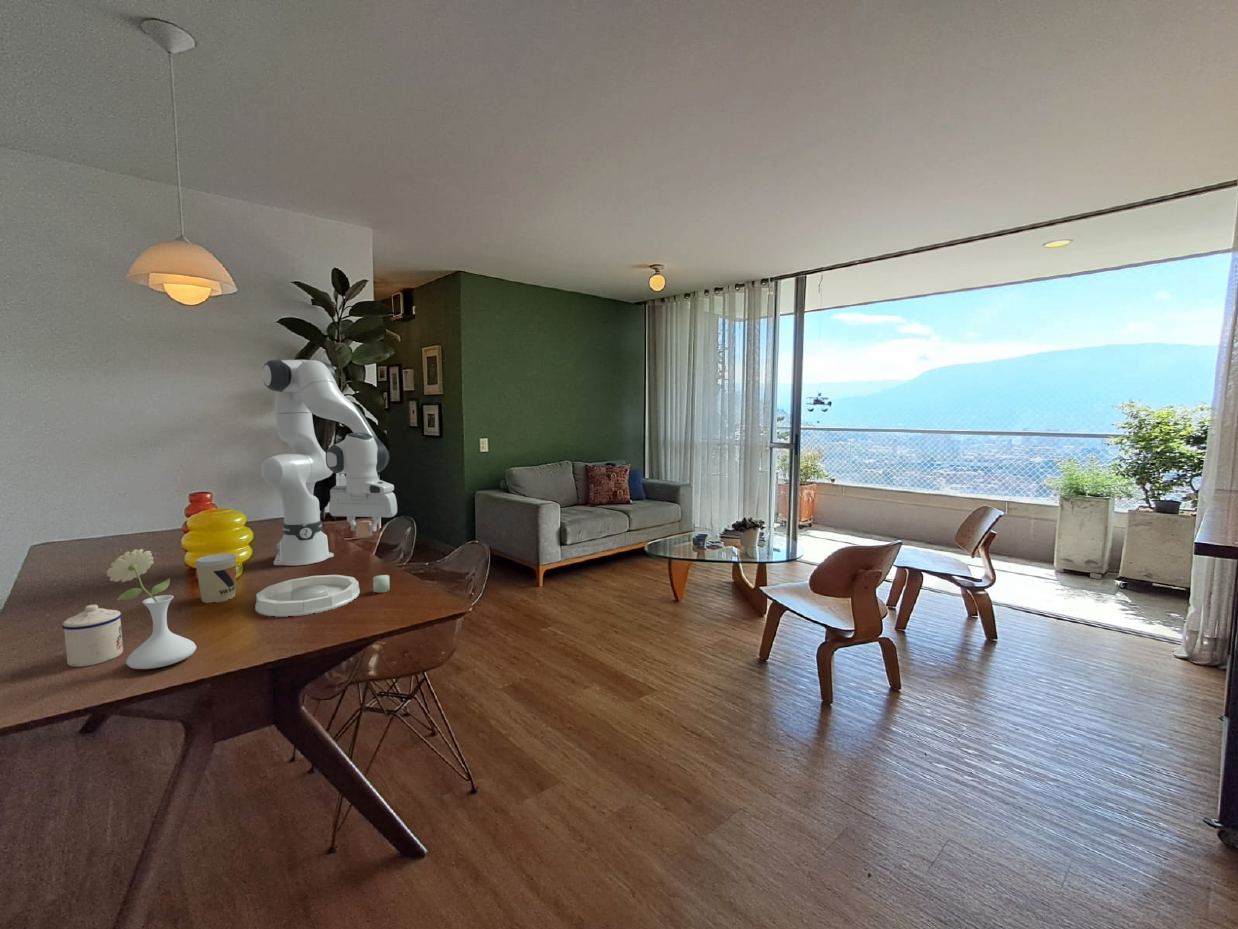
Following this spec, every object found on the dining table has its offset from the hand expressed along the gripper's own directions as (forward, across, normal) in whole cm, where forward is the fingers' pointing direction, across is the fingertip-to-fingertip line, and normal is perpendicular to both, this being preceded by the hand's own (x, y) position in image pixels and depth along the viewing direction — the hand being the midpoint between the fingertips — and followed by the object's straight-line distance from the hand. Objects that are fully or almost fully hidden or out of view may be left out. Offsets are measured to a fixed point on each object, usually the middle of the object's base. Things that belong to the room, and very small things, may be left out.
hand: (364, 530), depth 164 cm
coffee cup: (+17, -35, -16) cm, 42 cm away
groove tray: (+17, -8, -15) cm, 24 cm away
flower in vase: (+17, -14, -55) cm, 59 cm away
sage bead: (+17, +8, -6) cm, 20 cm away
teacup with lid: (+17, -31, -53) cm, 64 cm away
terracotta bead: (+2, 0, 0) cm, 2 cm away
